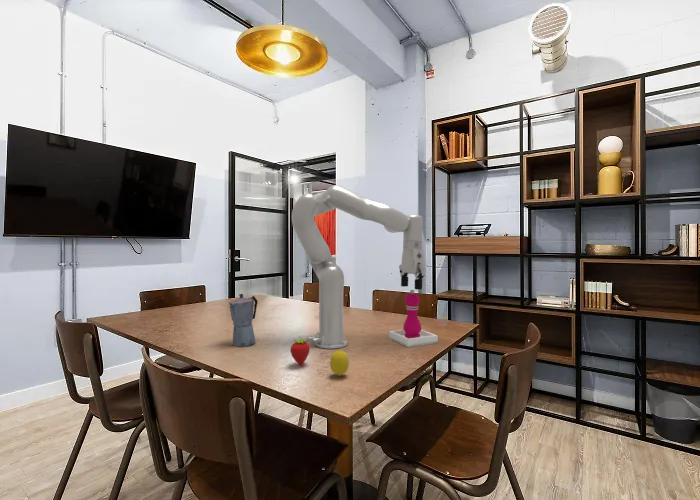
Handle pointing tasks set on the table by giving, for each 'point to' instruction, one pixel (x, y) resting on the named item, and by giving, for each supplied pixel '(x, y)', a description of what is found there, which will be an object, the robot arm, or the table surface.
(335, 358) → the lemon
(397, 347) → the table surface
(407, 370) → the table surface
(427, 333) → the tray
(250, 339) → the moka pot
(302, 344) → the strawberry
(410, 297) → the pepper mill
